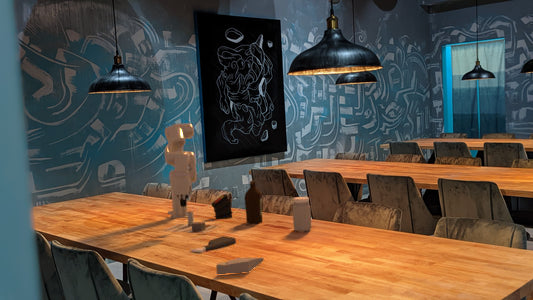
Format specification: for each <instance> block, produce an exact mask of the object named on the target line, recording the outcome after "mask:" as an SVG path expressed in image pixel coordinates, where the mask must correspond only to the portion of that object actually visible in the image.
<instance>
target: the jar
mask: <svg viewBox="0 0 533 300" xmlns="http://www.w3.org/2000/svg"><path fill="white" fill-rule="evenodd" d="M293 202H294V203H293V206H292V217H293V218H292V221H293V230H294V231H295V232H297V231H306V232H309V231H311V229H312V215H311V212H312V211H311V205H310V198H309V197H308V196H298V197H297V196H296V197H293Z"/></svg>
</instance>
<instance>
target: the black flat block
mask: <svg viewBox="0 0 533 300" xmlns="http://www.w3.org/2000/svg"><path fill="white" fill-rule="evenodd" d="M231 205H232V202H230V200H229V196H228V195H227V194H222V195H220V196H219V197H218V198H216V200H214V201H213V202H211V207H213V209H214V210H213V212H214V218H215V219H216V220H225V219H229V218H233V211H232V207H231Z"/></svg>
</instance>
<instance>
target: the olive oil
mask: <svg viewBox="0 0 533 300" xmlns="http://www.w3.org/2000/svg"><path fill="white" fill-rule="evenodd" d="M244 205H245V206H244V207H245V215H246V218H245V219H246V223H247V224H253V225H254V224H255V225H256V224H257V225H258V224H261V223H263V195H262V192H261V191H260V190H259V189H258V188H257V187H256V181H255V180H250V181H249V188H248V190H247V191H246V192H245V193H244Z"/></svg>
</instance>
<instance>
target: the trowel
mask: <svg viewBox="0 0 533 300" xmlns="http://www.w3.org/2000/svg"><path fill="white" fill-rule="evenodd" d="M263 260H264V261H265V259H264V257H237V258H232V259H229V260H227V261H225V262H224V261H222V262H219V263H217V264H216V275H217V274H226V273H242V272H249V271H251V270H252V269H253V268H254V267H256V266H257V265H258V264H259V263H260V264H262V263H263V262H264V261H263ZM262 261H263V262H262ZM261 262H262V263H261ZM260 264H259V265H260ZM259 265H258V266H259ZM258 266H257V267H258ZM257 267H256V268H257ZM253 270H254V269H253ZM253 270H252V271H253ZM252 271H251V272H252Z"/></svg>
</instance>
